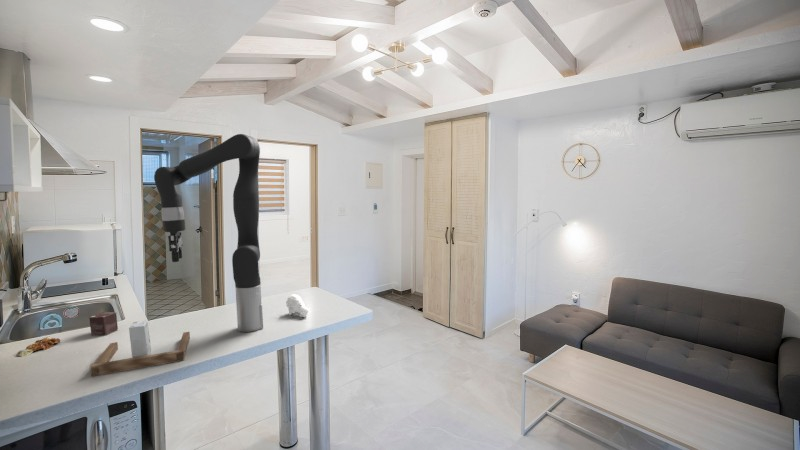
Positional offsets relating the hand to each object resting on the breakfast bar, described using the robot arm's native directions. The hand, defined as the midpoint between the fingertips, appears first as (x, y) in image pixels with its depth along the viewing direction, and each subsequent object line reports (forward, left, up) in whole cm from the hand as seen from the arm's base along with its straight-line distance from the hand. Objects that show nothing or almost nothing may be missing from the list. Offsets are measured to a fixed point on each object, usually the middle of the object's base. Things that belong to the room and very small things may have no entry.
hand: (177, 260), depth 147 cm
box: (+27, -8, -28) cm, 40 cm away
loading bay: (+8, +23, -28) cm, 37 cm away
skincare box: (+9, +28, -28) cm, 40 cm away
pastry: (+44, +1, -28) cm, 52 cm away
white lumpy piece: (-45, +5, -28) cm, 53 cm away
